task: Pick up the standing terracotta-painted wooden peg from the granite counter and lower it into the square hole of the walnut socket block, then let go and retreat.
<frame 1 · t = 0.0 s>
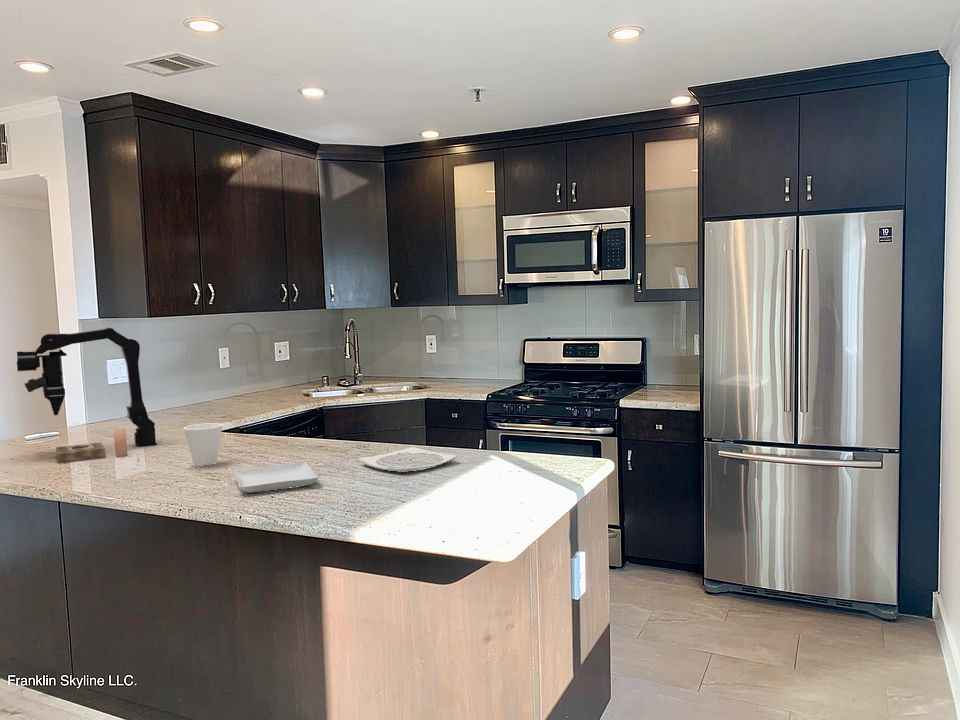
hand: (55, 413, 250), 15 cm above the table, fingers open, 9 cm apart
cup: (205, 464, 230), on the table
plate: (408, 466, 222), on the table
salad plate: (275, 485, 202), on the table
peg: (121, 455, 246), on the table
socket block: (80, 457, 246), on the table
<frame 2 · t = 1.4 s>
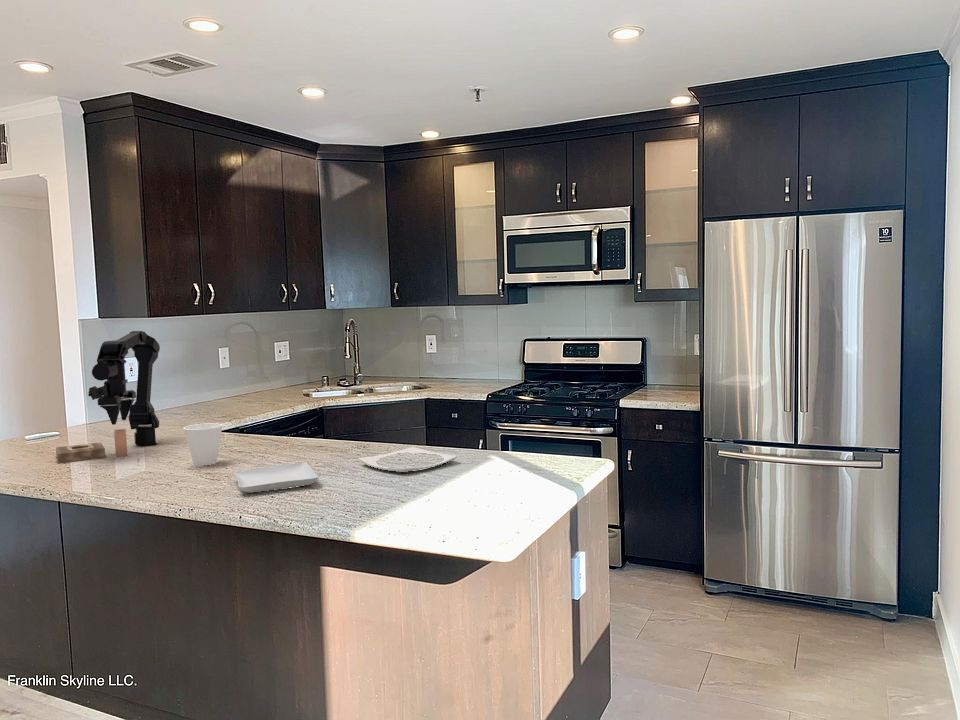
hand: (119, 422, 246), 12 cm above the table, fingers open, 9 cm apart
nothing on the table moved.
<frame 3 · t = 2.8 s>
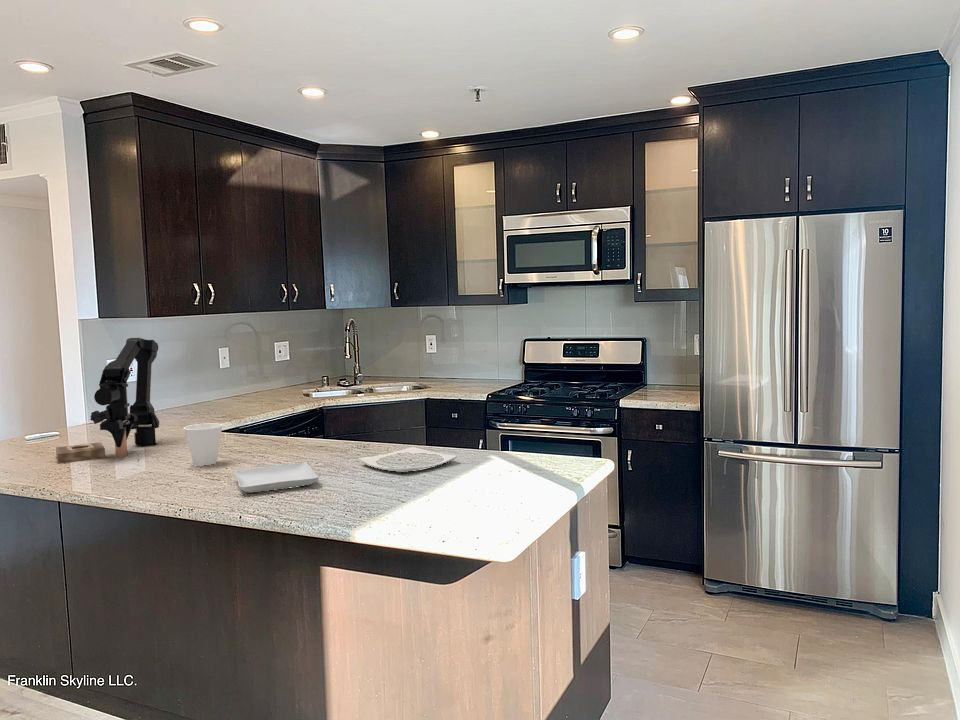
hand: (121, 446, 246), 3 cm above the table, fingers closed on peg, 4 cm apart
peg: (121, 455, 246), on the table, touching gripper
everything else where it was.
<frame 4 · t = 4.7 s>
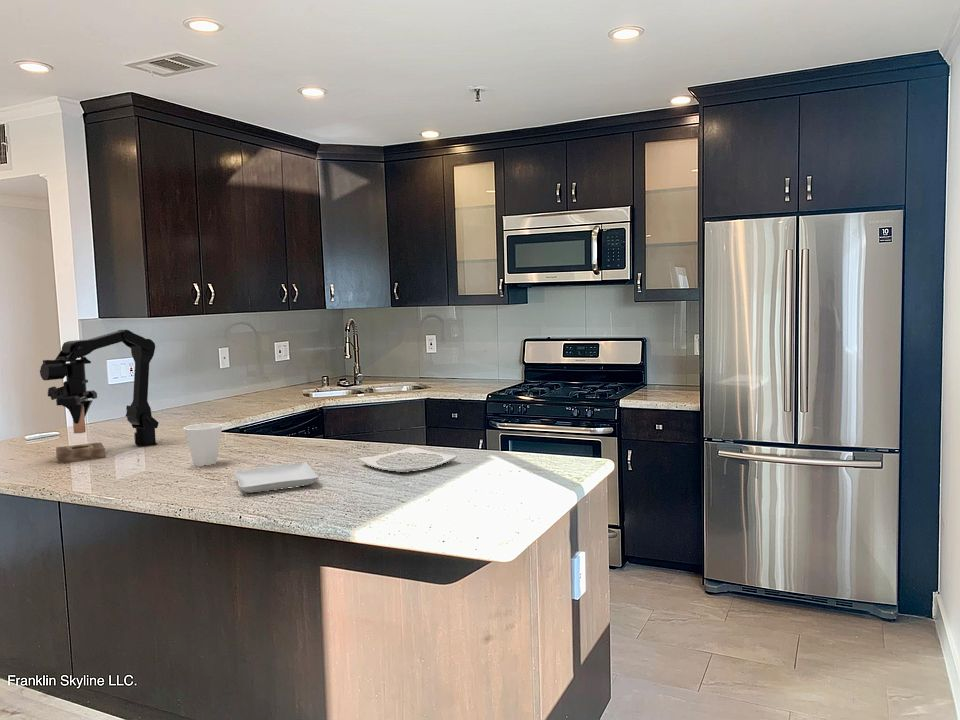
hand: (79, 422, 245), 12 cm above the table, fingers closed on peg, 4 cm apart
peg: (79, 432, 245), point 9 cm above the table, touching gripper
everything else where it was.
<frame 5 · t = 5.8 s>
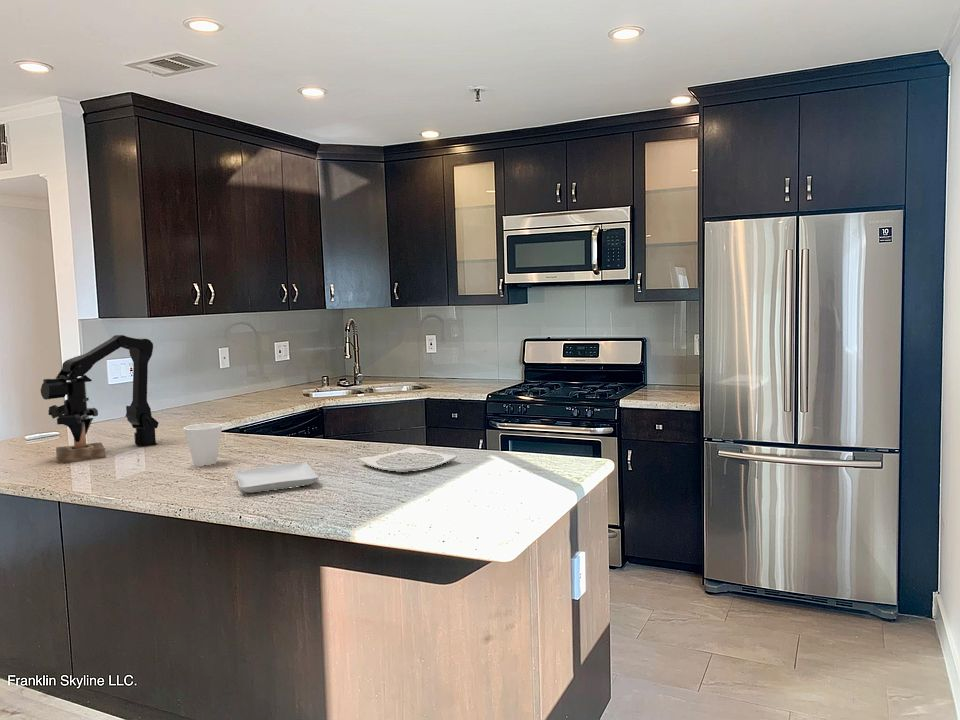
hand: (79, 440, 246), 6 cm above the table, fingers closed on peg, 4 cm apart
peg: (80, 450, 246), point 2 cm above the table, touching gripper
everything else where it was.
when the fingers open (4 cm above the table, at t = 6.4 s): peg stays where it is, resting in socket block.
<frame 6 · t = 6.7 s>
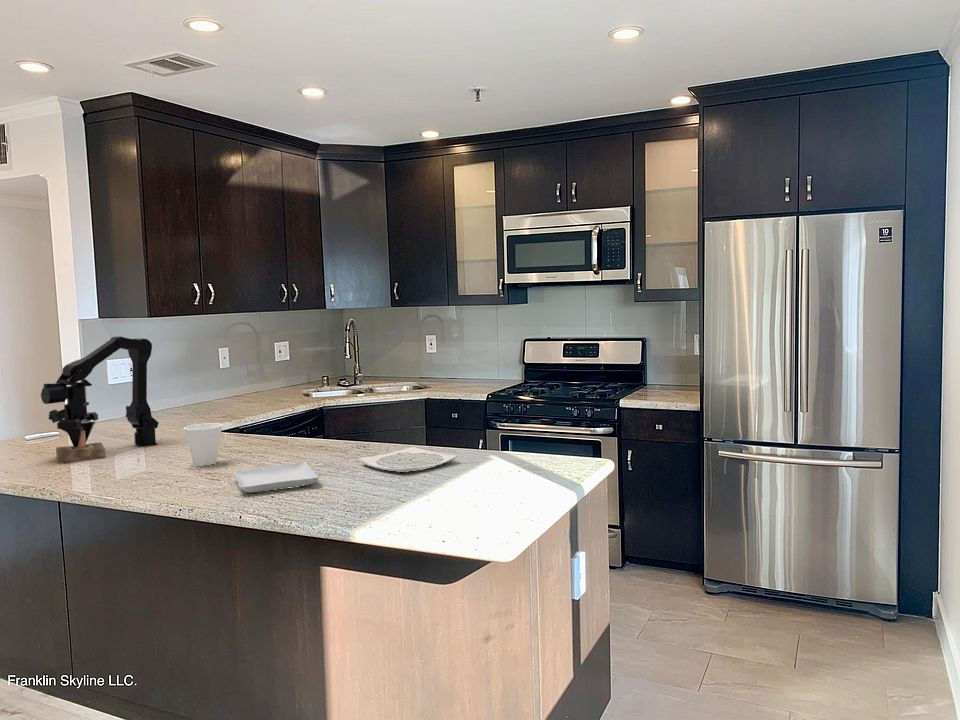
hand: (80, 445, 246), 4 cm above the table, fingers open, 7 cm apart
peg: (80, 457, 246), resting in socket block
everything else where it was.
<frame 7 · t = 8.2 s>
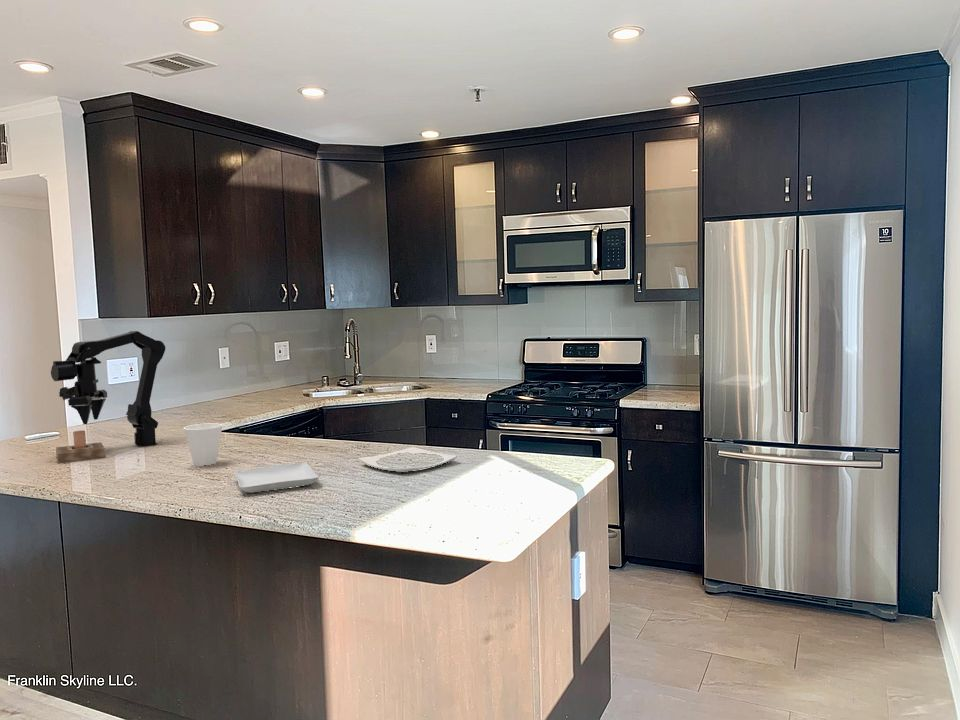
hand: (90, 421, 250), 12 cm above the table, fingers open, 9 cm apart
nothing on the table moved.
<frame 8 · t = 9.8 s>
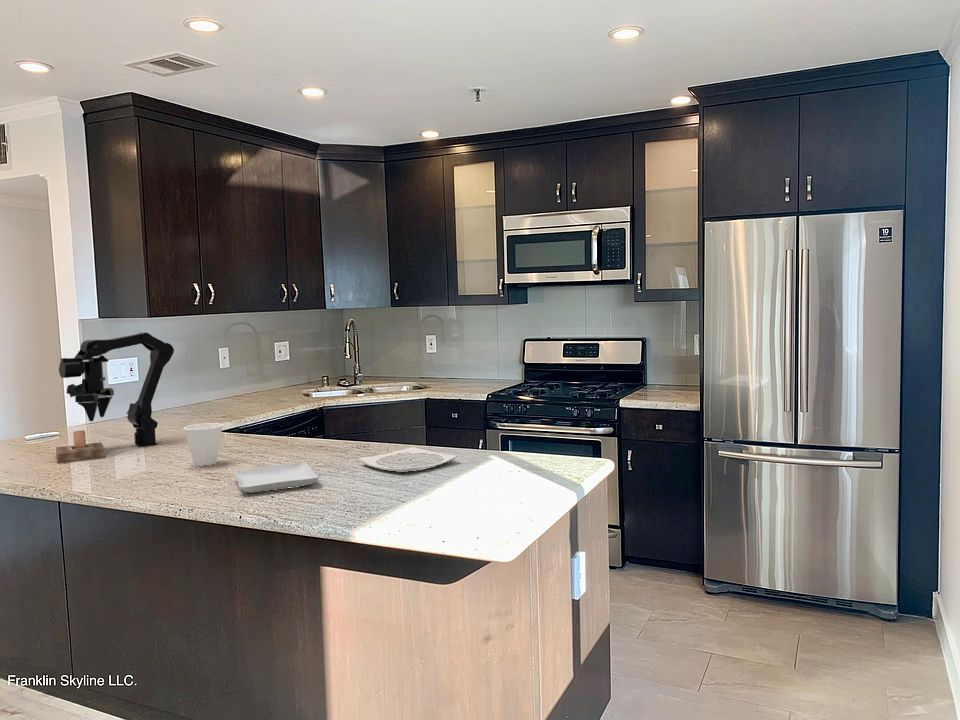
hand: (96, 419, 252), 12 cm above the table, fingers open, 9 cm apart
nothing on the table moved.
at the end: peg 0.0 cm off-centre on the socket block, point 0.0 cm above the socket block's base; peg tilted 0°; the gripper is holding nothing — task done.
